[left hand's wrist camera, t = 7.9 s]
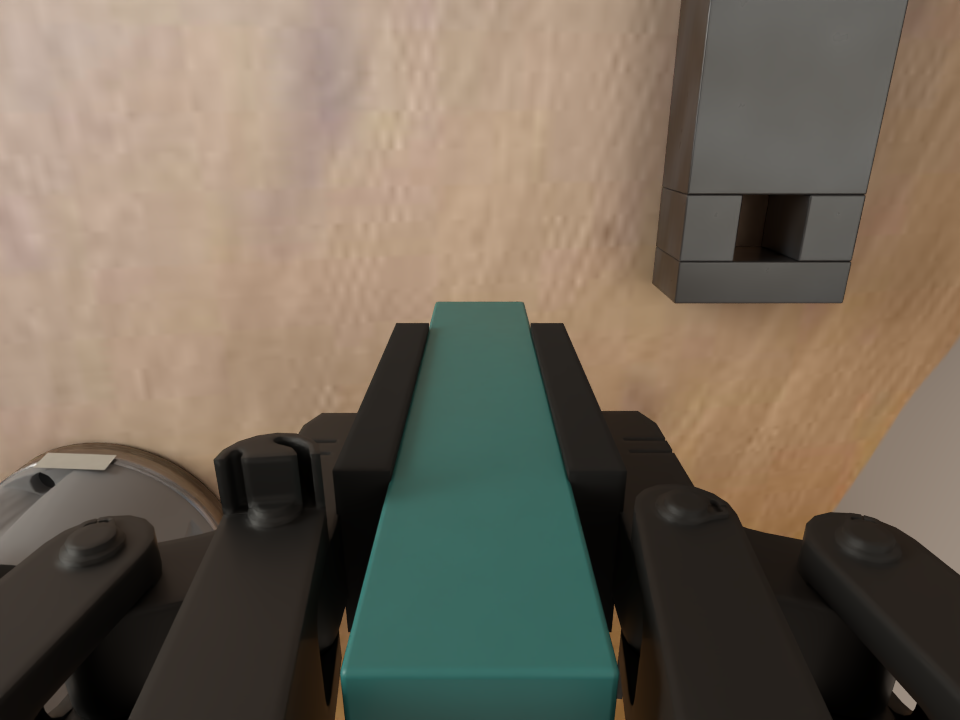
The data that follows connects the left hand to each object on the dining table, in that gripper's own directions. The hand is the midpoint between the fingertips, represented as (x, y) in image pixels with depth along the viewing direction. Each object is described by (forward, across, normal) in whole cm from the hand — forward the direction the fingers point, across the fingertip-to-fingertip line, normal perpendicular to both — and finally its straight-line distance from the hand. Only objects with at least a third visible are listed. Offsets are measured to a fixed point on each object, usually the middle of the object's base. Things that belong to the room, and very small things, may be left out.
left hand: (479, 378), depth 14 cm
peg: (+3, 0, 0) cm, 3 cm away
